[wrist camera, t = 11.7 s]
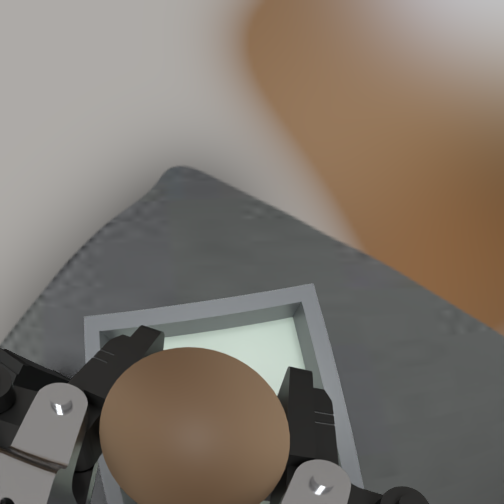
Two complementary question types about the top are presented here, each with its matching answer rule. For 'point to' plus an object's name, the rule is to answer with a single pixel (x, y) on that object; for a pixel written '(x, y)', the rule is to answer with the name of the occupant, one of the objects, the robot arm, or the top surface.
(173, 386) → the peg
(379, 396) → the top surface
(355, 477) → the socket box
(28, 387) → the ink cartridge
